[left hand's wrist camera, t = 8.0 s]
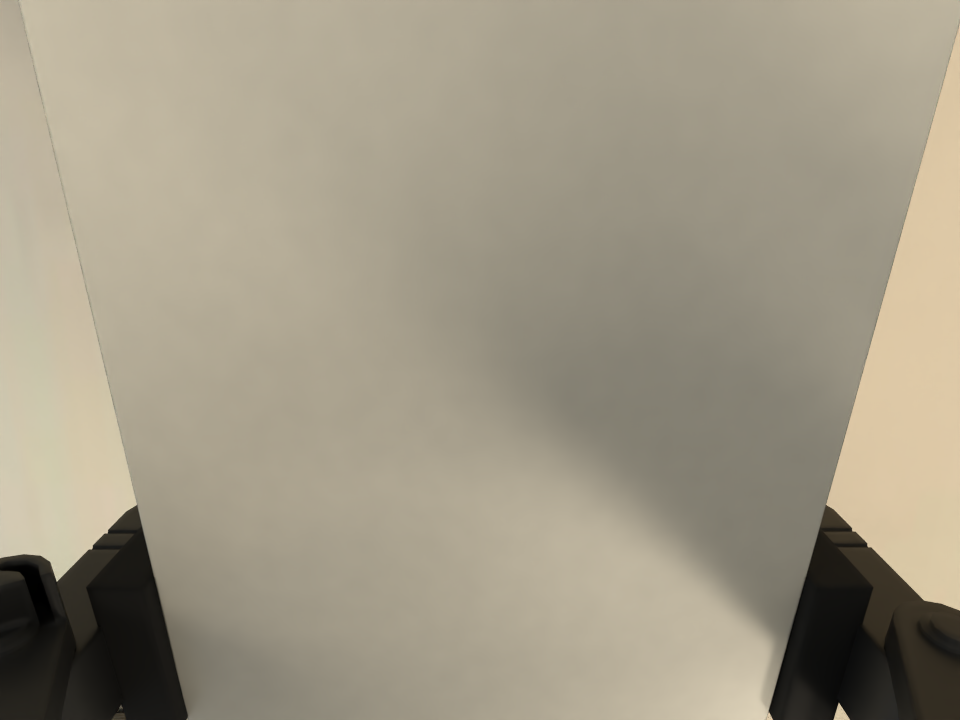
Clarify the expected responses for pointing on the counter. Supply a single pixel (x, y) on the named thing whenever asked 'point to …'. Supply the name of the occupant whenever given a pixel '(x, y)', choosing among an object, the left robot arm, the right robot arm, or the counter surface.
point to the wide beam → (485, 330)
